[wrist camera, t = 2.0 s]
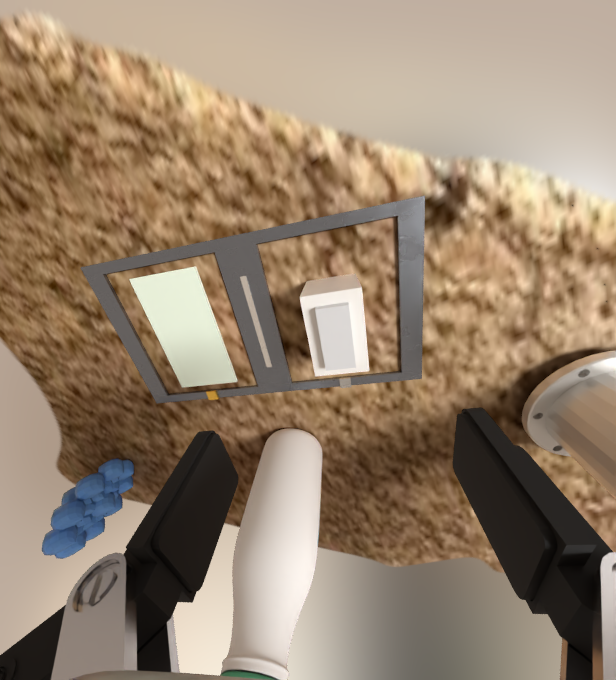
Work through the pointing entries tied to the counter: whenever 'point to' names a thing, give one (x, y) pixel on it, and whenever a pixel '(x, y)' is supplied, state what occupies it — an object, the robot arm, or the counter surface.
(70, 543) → the grapes
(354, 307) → the plug
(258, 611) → the milk bottle
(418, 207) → the two-window grey frame
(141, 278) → the port pad
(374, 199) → the counter surface
